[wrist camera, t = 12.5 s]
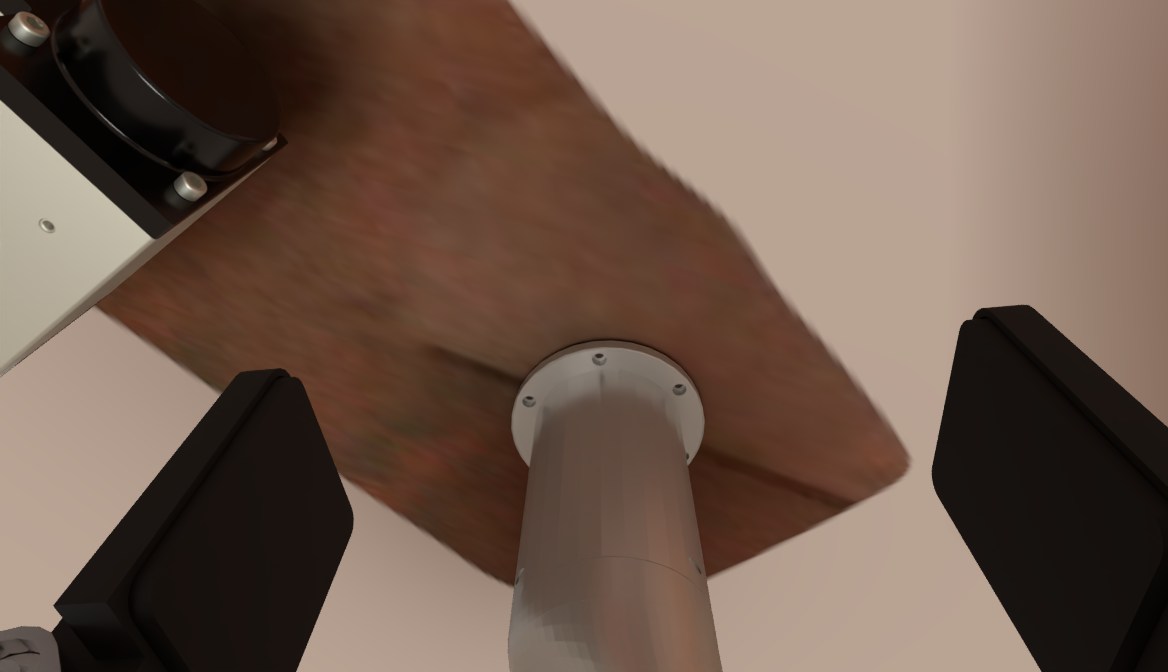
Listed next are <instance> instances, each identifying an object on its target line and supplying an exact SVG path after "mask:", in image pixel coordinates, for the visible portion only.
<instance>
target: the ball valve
mask: <svg viewBox="0 0 1168 672" xmlns="http://www.w3.org/2000/svg"><path fill="white" fill-rule="evenodd" d="M281 121H282V116H281V109H280V105H279V102H278V99H277V96H276V94H275V91H274V89H273V87H272V85H271V83H270V82H269V80H268V78H267V77H266V75H265V73H264V72H263V70H262V69H261V67H260V66H259V64H258V63H257V62H256V60H255V59H254V58H253V56H252V55H251V54H250V52H249V51H248V50H247V49H246V48H245V47H244V45H243V44H242V43H241V42H240V41H239V40H238V39H237V38H236V37H235V36H234V35H233V34H232V33H231V32H230V31H229V30H228V29H227V28H226V27H225V26H224V25H223V24H222V23H221V22H220V21H219V20H218V19H216V18H215V17H214V16H213V15H212V14H211V13H209V12H208V11H207V10H206V9H204V8H203V7H202V6H200V5H199V4H198V3H196V2H195V1H194V0H0V377H1V376H3V375H4V374H5V373H7V372H8V371H9V370H10V369H11V368H13V367H14V366H16V365H17V364H18V363H20V362H21V361H22V360H24V359H25V358H26V357H27V356H29V355H30V354H31V353H33V352H34V351H35V350H37V349H38V348H39V347H40V346H42V345H43V344H45V343H46V342H47V341H48V340H50V339H51V338H52V337H54V336H55V335H56V334H58V333H59V332H60V331H62V330H63V329H64V328H66V327H67V326H68V325H69V324H71V323H72V322H73V321H75V320H76V319H77V318H79V317H80V316H81V315H83V314H84V313H85V312H86V311H88V310H89V309H90V308H92V307H93V306H94V305H96V304H97V303H98V302H100V301H101V300H102V299H103V298H104V297H106V296H107V295H108V294H109V293H110V292H112V291H113V290H114V289H115V288H116V287H118V286H119V285H120V284H121V283H122V282H123V281H125V280H126V279H127V278H128V277H129V276H131V275H132V274H133V273H134V272H135V271H137V270H138V269H139V268H140V267H141V266H143V265H144V264H145V263H146V262H147V261H148V260H150V259H151V258H152V257H153V256H154V255H156V254H157V253H158V252H159V251H160V250H162V249H163V248H164V247H165V246H166V245H168V244H169V243H170V242H171V241H172V240H174V239H175V238H176V237H177V236H178V235H179V234H181V233H182V232H183V231H184V230H185V229H187V228H188V227H189V226H190V225H191V224H193V223H194V222H195V221H196V220H197V219H199V218H200V217H201V216H202V215H203V214H204V213H206V212H207V211H208V210H209V209H210V208H212V207H213V206H214V205H215V204H216V203H218V202H219V201H220V200H221V199H222V198H224V197H225V196H226V195H227V194H228V193H229V192H231V191H232V190H233V189H234V188H235V187H237V186H238V185H239V184H240V183H241V182H243V181H244V180H245V179H246V178H247V177H249V176H250V175H251V174H252V173H253V172H254V171H256V170H257V169H258V168H259V167H260V166H262V165H263V164H264V163H265V162H266V161H268V160H269V159H270V158H271V157H272V156H274V155H275V154H276V153H277V152H278V151H279V150H281V149H282V148H283V147H284V146H285V145H287V144H288V142H287V140H286V139H285V138H284V137H283V136H282V135H281V134H280V133H279V131H280V128H281Z"/></svg>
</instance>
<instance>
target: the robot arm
mask: <svg viewBox="0 0 1168 672" xmlns="http://www.w3.org/2000/svg"><path fill="white" fill-rule="evenodd" d="M598 353H599V354H598ZM704 425H705V420H704V413H703V407H702V403H701V399H700V396H699V392H698V390H697V389H696V387H695V385H694V383H693V381H692V379H691V378H690V377H689V376H688V375H687V374H686V372H685V371H684V370H683V369H682V368H681V367H680V366H679V365H678V364H676V363H675V362H674V361H672V360H671V359H670V358H668V357H667V356H665V355H663V354H661V353H659V352H657V351H655V350H653V349H651V348H648V347H645V346H642V345H638V344H635V343H630V342H622V341H614V340H610V341H592V342H587V343H583V344H578V345H574V346H571V347H569V348H566V349H564V350H561V351H559V352H556V353H555V354H553V355H552V356H550V357H548V358H547V359H545V360H544V361H542V362H541V363H540V364H539V365H538V366H537V367H535V368H534V369H533V370H532V371H531V372H530V373H529V375H528V376H527V377H526V379H525V380H524V382H523V383H522V384H521V386H520V388H519V391H518V393H517V396H516V398H515V401H514V407H513V412H512V426H511V430H512V434H513V439H514V443H515V446H516V448H517V450H518V452H519V454H520V456H521V458H522V459H523V460H524V462H525V463H526V464H527V466H528V467H529V475H528V483H527V491H526V499H525V507H524V514H523V522H522V530H521V538H520V546H519V554H518V562H517V570H516V578H515V586H514V595H513V602H512V610H511V620H510V629H509V637H508V657H509V668H510V672H723V671H722V666H721V661H720V656H719V650H718V644H717V638H716V632H715V627H714V620H713V614H712V611H711V604H710V598H709V592H708V586H707V580H706V574H705V567H704V561H703V555H702V549H701V543H700V537H699V531H698V525H697V519H696V513H695V507H694V501H693V495H692V489H691V483H690V477H689V470H688V465H689V464H690V463H691V461H692V460H693V458H694V457H695V455H696V453H697V452H698V450H699V447H700V445H701V442H702V439H703V435H704ZM932 480H933V485H934V489H935V491H936V494H937V495H938V497H939V499H940V501H941V502H942V504H943V506H944V508H945V509H946V511H947V513H948V514H949V516H950V517H951V519H952V521H953V522H954V524H955V526H956V528H957V529H958V531H959V533H960V534H961V536H962V538H963V540H964V541H965V543H966V545H967V546H968V548H969V550H970V552H971V553H972V555H973V556H974V558H975V560H976V562H977V563H978V565H979V567H980V568H981V570H982V572H983V573H984V575H985V577H986V579H987V580H988V582H989V584H990V585H991V587H992V589H993V590H994V592H995V594H996V595H997V597H998V599H999V600H1000V602H1001V604H1002V606H1003V607H1004V609H1005V611H1006V612H1007V614H1008V616H1009V617H1010V619H1011V621H1012V623H1013V624H1014V626H1015V628H1016V629H1017V631H1018V633H1019V634H1020V636H1021V638H1022V639H1023V641H1024V643H1025V644H1026V646H1027V648H1028V649H1029V651H1030V653H1031V655H1032V656H1033V658H1034V660H1035V661H1036V663H1037V665H1038V666H1039V668H1040V670H1041V672H1168V427H1167V426H1166V425H1164V424H1163V423H1162V422H1161V421H1160V420H1159V419H1157V417H1155V416H1154V415H1153V414H1152V413H1151V412H1150V411H1149V410H1147V409H1146V408H1145V407H1144V406H1143V405H1142V404H1141V403H1140V402H1139V401H1137V400H1136V399H1135V398H1134V397H1133V396H1132V395H1131V394H1130V393H1128V392H1127V391H1126V390H1125V389H1124V388H1123V387H1122V386H1121V385H1119V384H1118V383H1117V382H1116V381H1115V380H1114V379H1113V378H1112V377H1110V376H1109V375H1108V374H1107V373H1106V372H1105V371H1104V370H1103V369H1101V368H1100V367H1099V366H1098V365H1097V364H1096V363H1095V362H1094V361H1092V360H1091V359H1090V358H1089V357H1088V356H1087V355H1085V353H1083V352H1082V351H1081V350H1080V349H1079V348H1078V347H1076V346H1075V345H1074V344H1073V343H1072V342H1071V341H1070V340H1068V338H1066V337H1065V336H1064V335H1063V334H1062V333H1061V332H1060V331H1058V330H1057V329H1056V328H1055V327H1054V326H1053V325H1052V324H1050V323H1049V322H1048V321H1047V320H1046V319H1045V318H1044V317H1043V316H1042V315H1040V314H1039V313H1038V312H1037V311H1036V310H1035V309H1034V308H1032V307H1030V306H1029V305H1014V306H1003V307H991V308H981V309H980V310H978V311H977V312H976V313H975V315H974V316H973V319H972V320H966V321H965V322H963V324H962V325H961V328H960V331H959V335H958V340H957V346H956V350H955V355H954V361H953V365H952V370H951V376H950V381H949V385H948V390H947V396H946V400H945V405H944V410H943V416H942V421H941V425H940V430H939V435H938V440H937V445H936V450H935V456H934V461H933V465H932ZM353 519H354V518H353V511H352V508H351V505H350V502H349V500H348V497H347V495H346V492H345V490H344V487H343V485H342V482H341V479H340V477H339V474H338V472H337V469H336V467H335V464H334V462H333V459H332V457H331V454H330V452H329V449H328V446H327V444H326V441H325V439H324V436H323V434H322V431H321V429H320V426H319V424H318V421H317V419H316V416H315V414H314V411H313V408H312V406H311V403H310V401H309V398H308V396H307V393H306V391H305V388H304V386H303V384H302V382H301V381H300V380H299V379H298V378H296V377H291V376H290V375H289V373H288V372H287V371H286V370H284V369H281V368H278V369H266V370H255V371H245V372H240V373H239V374H238V375H237V376H236V377H235V378H234V379H233V380H232V382H231V383H230V384H229V385H228V387H227V388H226V389H225V391H224V392H223V393H222V394H221V396H220V397H219V398H218V399H217V401H216V402H215V403H214V404H213V406H212V407H211V408H210V410H209V411H208V412H207V413H206V414H205V416H204V417H203V418H202V419H201V421H200V422H199V423H198V425H197V426H196V427H195V428H194V430H193V431H192V432H191V433H190V435H189V436H188V437H187V438H186V440H185V441H184V442H183V443H182V445H181V446H180V447H179V448H178V450H177V451H176V452H175V454H174V455H173V456H172V457H171V458H170V460H169V461H168V462H167V463H166V465H165V466H164V467H163V468H162V470H161V471H160V472H159V473H158V475H157V476H156V477H155V479H154V480H153V481H152V482H151V483H150V485H149V486H148V487H147V489H146V490H145V491H144V492H143V494H142V495H141V496H140V497H139V499H138V500H137V501H136V502H135V504H134V505H133V506H132V507H131V509H130V510H129V511H128V512H127V514H126V515H125V516H124V517H123V519H122V520H121V521H120V522H119V524H118V525H117V526H116V527H115V529H114V530H113V531H112V533H111V534H110V535H109V536H108V537H107V539H106V540H105V541H104V543H103V544H102V545H101V546H100V548H99V549H98V550H97V551H96V553H95V554H94V555H93V556H92V558H91V559H90V560H89V562H88V563H87V564H86V565H85V566H84V568H83V569H82V570H81V571H80V573H79V574H78V575H77V576H76V578H75V579H74V580H73V581H72V583H71V584H70V585H69V587H68V588H67V589H66V590H65V592H64V593H63V594H62V595H61V597H60V598H59V599H58V601H57V602H56V603H55V604H54V607H55V609H56V610H57V611H58V613H59V614H60V615H61V616H62V619H61V621H60V622H59V624H58V625H57V626H56V627H55V628H54V630H53V631H52V632H49V631H47V630H45V629H43V628H41V627H27V626H25V627H24V626H23V627H22V626H21V627H17V628H13V629H8V630H5V631H0V672H296V671H297V668H298V666H299V663H300V661H301V658H302V656H303V653H304V651H305V648H306V646H307V643H308V641H309V638H310V636H311V633H312V631H313V628H314V626H315V624H316V621H317V619H318V616H319V614H320V611H321V609H322V606H323V604H324V601H325V599H326V596H327V594H328V591H329V589H330V586H331V584H332V581H333V578H334V576H335V574H336V571H337V569H338V566H339V564H340V561H341V559H342V556H343V554H344V551H345V549H346V546H347V544H348V541H349V539H350V537H351V533H352V530H353Z"/></svg>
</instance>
